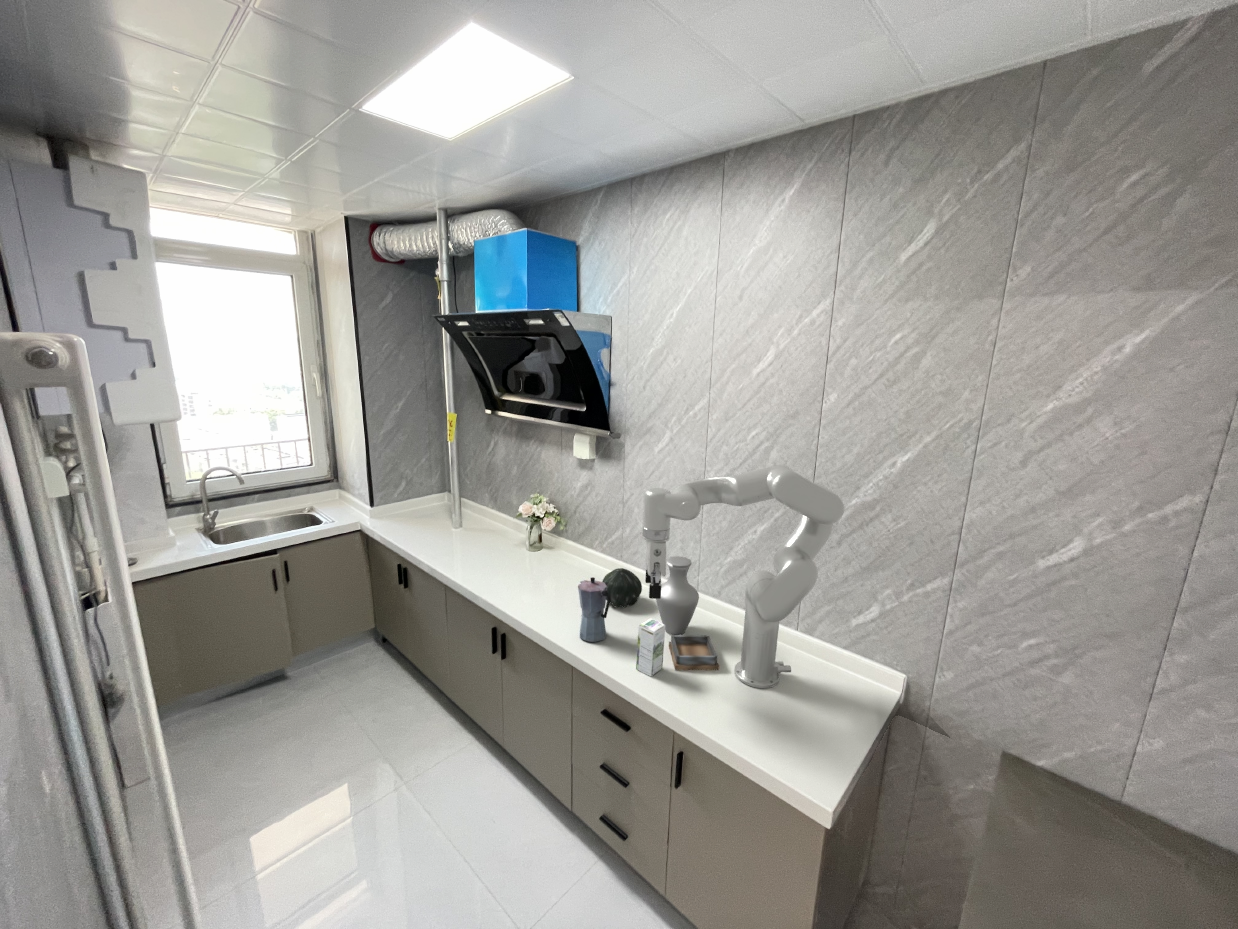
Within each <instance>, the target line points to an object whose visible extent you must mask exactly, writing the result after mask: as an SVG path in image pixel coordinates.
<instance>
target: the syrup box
mask: <svg viewBox="0 0 1238 929" xmlns="http://www.w3.org/2000/svg"><path fill="white" fill-rule="evenodd" d="M637 628H638V632H637V645H636V661H635V662H636V663H635V664H636V665H635V669H636V670H638V671H639V672H641V673H643V674H644V675H647V676H649V677H653V676H655V674H657V673H658V672H659V671H661V670H663V666H664V664H663V662H664V650H665V638H666V636H665V635H666V631H665V625H664V624H663V623H662V621H661V622H660V621H658V620H656V619H653V618H650V617H649V619H647V620H645V621H644V622H641V623H640V624H638V627H637Z"/></svg>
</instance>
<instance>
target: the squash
mask: <svg viewBox="0 0 1238 929" xmlns="http://www.w3.org/2000/svg"><path fill="white" fill-rule="evenodd" d="M601 582H604V583H605V584H606V586H607V593H608V595H609V596H610V604H612V605H613V607H614V608H618V607H621V608H627V607H628V606H633V605H635V604H636V603H637V602H638V601H639V598H640V596H641V594H642V590H643V586H642V581H641V580H640V578H639V577H638V576H637V575H636V574H635V573H634V572H633V571H630V570H629V569H626V568H622V567H620V568H615V569H613V570H612V571H610V572H608V573H607V574H606V575H604V577H603V579H602V581H601ZM606 601H607V597H606Z"/></svg>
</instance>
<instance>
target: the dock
mask: <svg viewBox="0 0 1238 929" xmlns="http://www.w3.org/2000/svg"><path fill="white" fill-rule="evenodd" d="M668 648H669V652H670V656H671V659H672V664H673V667H674V671H720V665H719V662H718V654H717V651H716V649H715V647H714V644H713V642H712V640H711V638H710V636H709V635H707V634H705V635H702V634H700V635H699V634H697V635H695V634H693V635H692V634H691V635H689V634H685V635H684V634H682V635H671V636H670V641H668Z"/></svg>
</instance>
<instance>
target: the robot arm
mask: <svg viewBox="0 0 1238 929" xmlns="http://www.w3.org/2000/svg"><path fill="white" fill-rule="evenodd" d="M643 498H644V500H643V515H642V516H643V519H642V521H643V522H642V536H641V538H642V539H643V540H644V541H645V553H644V555H645V557H644V558H645V560H644V561H645V562H644V563H645V567H646V569H645V583H646V584H649V588H648V590H649V591H648V598H649V599H652V600H654V599H655V600H656V599H660V598H661V584H662V577H665V576H666V575H667V542H668V541H669V540H670V534H671V533H670V532H671V519H674V520H675V519H676V520H678V521H679V520H680V521H692V520H695V519H696V518H698V516H699V515H700V513H701V509H702V507H701V506H704V505H705V506H706V505H710V504H711V505H712V504H726V505H729V506H733V507H743V506H748V505H752V504H757V503H761V502H764V501H765V502H766V501H769V500H772V499H775V500H776V501H778V502H779V503H781V504H782V505H784V506H786V507H787V508H789V509H791V510H792V511H794V512H797V513H799V514H800V515H801V517H800V520H799V523H797V526H796V527H795V528H794V530H793V531H792V533H791V534H789V536H788V537H787V538H786V539H785V540H784V541H783V542H782V544H781V545H780V546H779V547H778V548H777V550H776V551H775V552H774V554H773V556H772V561H771V562H772V567H773V568H774V570H775V572H776V573H777V574H774V573H773V572H770V570H769V571H768V570H764V569H760V570H756V571H754V572H753V573H751V575H749V577H747V578H748V579H747V580H746V582H745V590H744V591H745V592H744V595H745V596H744V597H745V599H744V601H745V608H744V620H743V621H744V622H743V631H742V632H743V633H742V635H743V636H742V641H741V642H742V644H741V645H742V646H741V654H740V656H741V657H740V661H738V662H736V664H735V665H734V674H735V677H736V678H737V679H738V680H739V681H740V682H741V683H743V684H745V685H748V686H750V687H753V688H758V689H768V688H772V687H774V686H776V685H777V684H778V683H779V680H780V674H781V673H792V667H791V666H792V665H790V664H789V665H787V664H786V665H785V664H784V661H780V660H779V661H776V655H777V646H778V638H779V629H780V621H782V620H785V618H787V617H789V615H790V614H791V613H792V612H793V611H794V610H795V609H796V608H797V607H798V606H799V605H800V603H801V602H802V601H803V600H804V599H805V598H806V597H807V595H808V594H809V593H810V592H811V591H812V590H813V588H814V587H815V585H816V583H817V579H818V567H817V565H816V563H815V562H814V560H815V558H816V556H817V555H818V554H819V553H820V551H821V550H822V549H823V547H824V546H825V545H826V543H827V542H828V540H829V539H830V536H831V534H832V531H833V526H834V525H833V524H836V523H837V522H839V520H840V519H841V518H842V517H843V516H844V512H845V504H844V502H843V499H842V498H841V497H840V496H839V495H838V494H837V493H835V492H834V491H832V490H831V489H829V488H828V486H825V485H823V484H822V483H819V482H812V481H810V480H808V479H807V478H805V477H804V476H803V475H800V474H799V473H797V472H796V471H795V470H793V469H792V468H790V466H787V465H785V464H783V465H782V464H777V465H772V466H767V467H763V468H760V469H755V470H751V471H747V472H744V473H740V474H736V475H730V476H719V477H710V478H702V479H699V480H694V481H691V482H686V483H683V484H681V485H679V486H677V487H676V488H674V489H673V490H672V491H670V490H668V489H665V488H660V487H652V488H648V489H647V490H645V492H644V496H643Z"/></svg>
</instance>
